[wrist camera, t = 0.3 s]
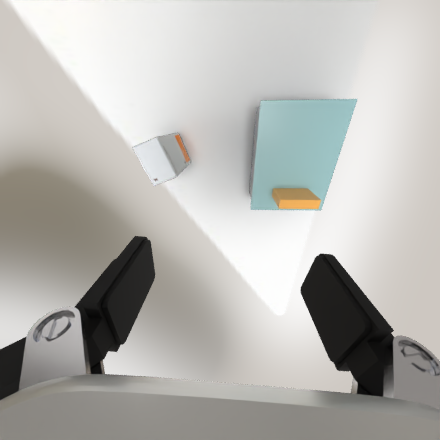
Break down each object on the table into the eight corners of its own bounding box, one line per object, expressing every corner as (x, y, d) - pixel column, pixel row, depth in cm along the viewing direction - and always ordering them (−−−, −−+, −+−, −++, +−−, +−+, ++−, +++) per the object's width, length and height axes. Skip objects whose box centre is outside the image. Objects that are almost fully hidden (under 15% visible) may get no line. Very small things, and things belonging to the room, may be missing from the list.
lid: (259, 101, 25) (268, 96, 19) (351, 100, 24) (387, 94, 19) (250, 206, 34) (254, 223, 28) (317, 207, 33) (335, 224, 28)
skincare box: (192, 161, 36) (177, 178, 26) (174, 168, 37) (153, 187, 26) (178, 131, 33) (156, 136, 23) (159, 139, 34) (130, 147, 24)
